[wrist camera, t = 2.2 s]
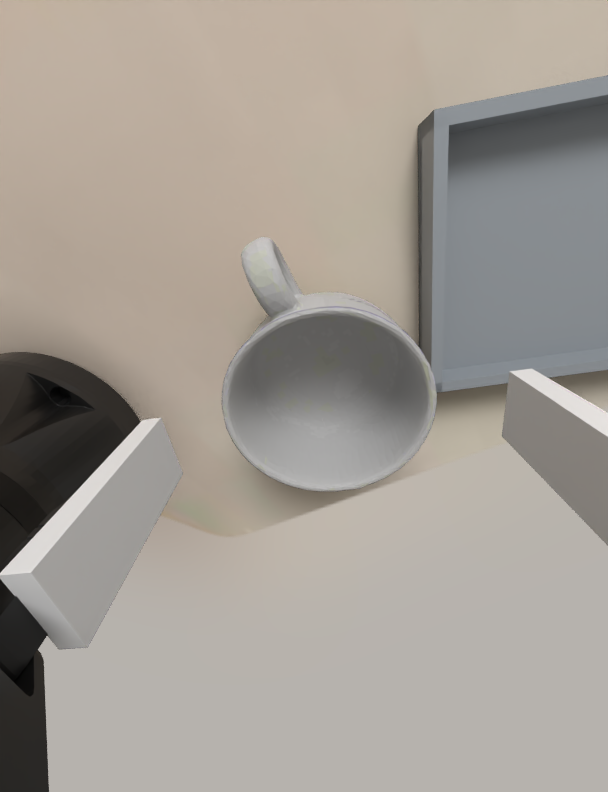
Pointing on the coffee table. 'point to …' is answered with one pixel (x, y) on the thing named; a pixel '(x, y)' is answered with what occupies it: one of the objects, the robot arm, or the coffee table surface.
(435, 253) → the tray
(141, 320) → the coffee table surface
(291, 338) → the teacup
